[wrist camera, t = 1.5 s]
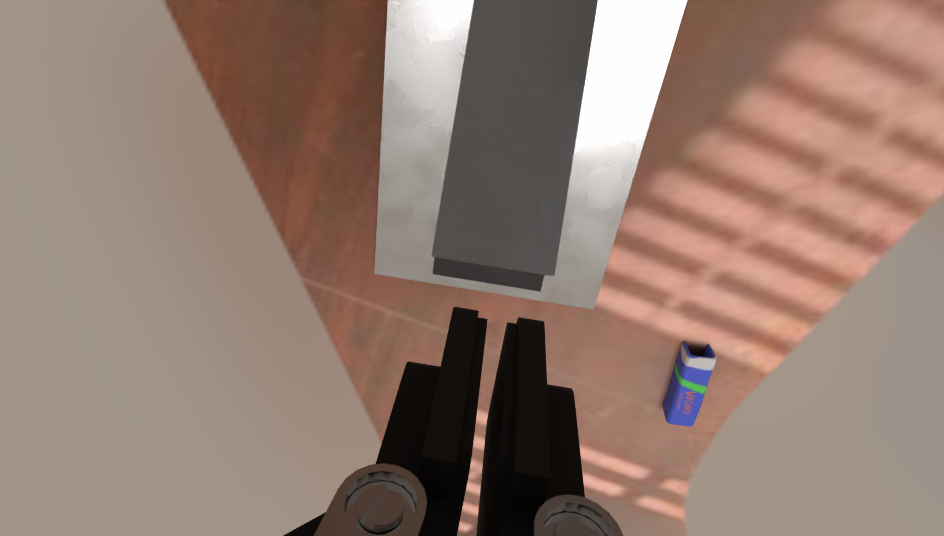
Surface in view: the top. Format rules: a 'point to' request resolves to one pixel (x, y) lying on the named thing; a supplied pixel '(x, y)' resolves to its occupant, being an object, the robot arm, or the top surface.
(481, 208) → the retention lever
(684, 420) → the eraser
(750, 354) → the top surface
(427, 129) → the mounting plate
